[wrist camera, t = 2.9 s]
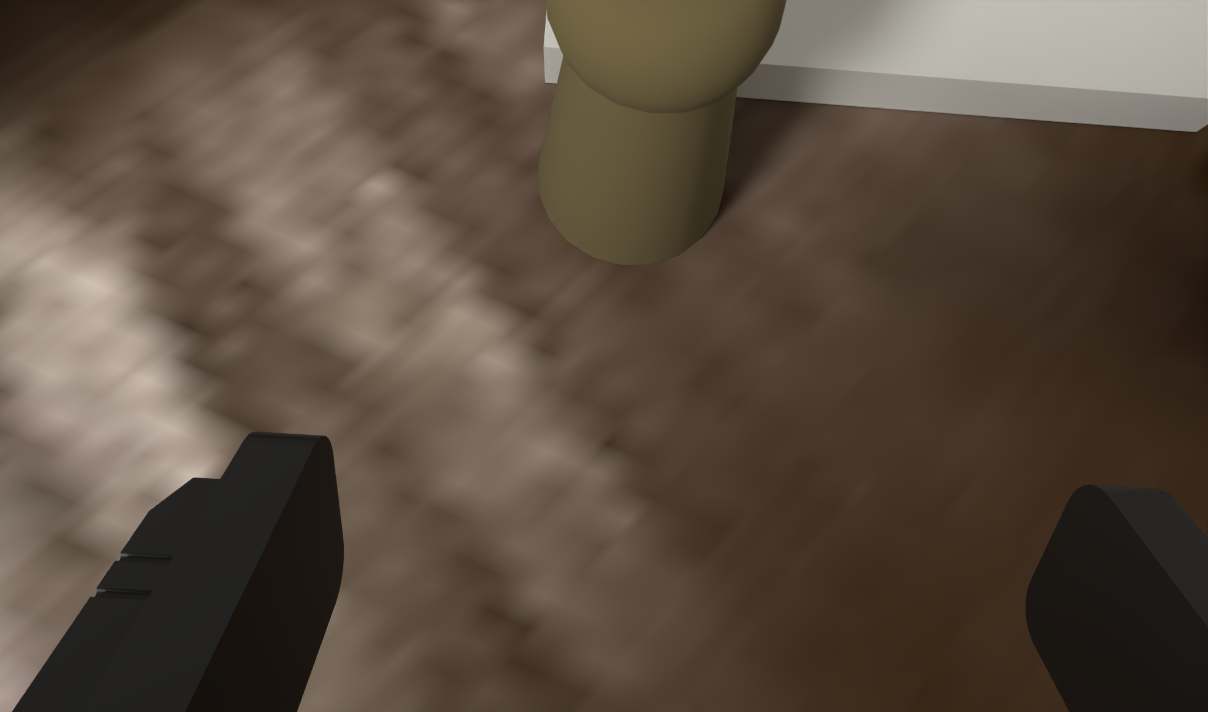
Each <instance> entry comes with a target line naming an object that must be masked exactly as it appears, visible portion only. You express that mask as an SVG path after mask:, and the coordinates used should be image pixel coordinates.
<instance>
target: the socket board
mask: <svg viewBox="0 0 1208 712" xmlns="http://www.w3.org/2000/svg"><path fill="white" fill-rule="evenodd" d="M562 59H563V54H562V52H561V50H560V47H559V45H558V42H557V40H556V38H555V35H554V33H553V30H552V28H551V26H550V23H549V21H548V18H547V14H546V26H545V39H544V66H545V83H557V80H558V76H559V72H560V67H561V63H562ZM736 97H742V98H755V99H768V100H782V101H795V102H808V103H821V104H834V105H847V106H860V107H874V108H887V109H900V110H913V111H926V112H939V113H952V114H966V115H979V116H992V117H1005V118H1018V119H1031V120H1044V121H1058V122H1071V123H1084V124H1097V125H1110V126H1123V127H1136V128H1150V129H1163V130H1176V131H1189V132H1197V131H1198V130H1200V129H1201V128H1203V127H1204V126H1206V125H1207V124H1208V0H787V1H786V5H785V9H784V13H783V17H782V21H781V25H780V29H779V31H778V33H777V36H776V38H775V40H774V43H773V45H772V46H771V48H770V49H769V51H768V52H767V54H766V55H765V57H764V58H763V60H762V61H761V62H760V64H759V65H758V67H757V68H756V70H755V71H754V73H753V74H752V75H751V76H750V77H749V78H747V79H746V80H745V81H744V82H743V83H742V84H741V85H740V86H738V87H737V95H736Z"/></svg>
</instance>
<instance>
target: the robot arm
mask: <svg viewBox="0 0 1208 712" xmlns="http://www.w3.org/2000/svg"><path fill="white" fill-rule="evenodd" d="M343 562H344V541H343V532H342V524H341V515H340V507H339V499H338V490H337V482H336V473H335V465H334V457H333V450H332V446H331V443H330V440H329V439H328V438H327V437H326V436H320V435H303V434H287V433H271V432H252V433H250V434H249V435H248V436H247V437H246V438H245V440H244V441H243V443H242V444H241V446H240V447H239V449H238V451H237V452H236V454H235V456H234V457H233V459H232V461H231V462H230V464H229V466H228V467H227V469H226V471H225V472H224V474H223V476H222V477H221V479H209V478H192V479H191V480H190V481H188V482H187V483H186V484H184V485H183V486H182V487H180V488H179V489H178V490H176V491H175V492H174V493H172V494H171V495H170V496H168V497H167V498H166V499H164V500H163V501H162V502H160V503H159V504H158V505H156V506H155V507H154V508H152V509H151V510H150V511H149V512H148V513H147V515H146V516H145V518H144V519H143V521H142V522H141V524H140V525H139V527H138V528H137V529H136V531H135V532H134V534H133V535H132V537H131V538H130V540H129V541H128V543H127V544H126V546H125V547H124V548H123V550H122V551H121V558H120V560H119V561H115V562H114V563H113V565H112V566H111V568H110V569H109V570H108V572H107V573H106V575H105V576H104V578H103V579H102V581H101V582H100V584H99V585H98V587H97V593H96V596H95V597H90V598H89V600H88V601H87V603H86V604H85V606H84V607H83V609H82V610H81V611H80V613H79V614H78V616H77V617H76V619H75V620H74V622H73V623H72V625H71V626H70V628H69V629H68V630H67V632H66V633H65V635H64V636H63V638H62V639H61V641H60V642H59V644H58V645H57V647H56V648H55V650H54V651H53V652H52V654H51V655H50V657H49V658H48V660H47V661H46V663H45V664H44V666H43V667H42V669H41V670H40V671H39V673H38V674H37V676H36V677H35V679H34V680H33V682H32V683H31V685H30V686H29V688H28V689H27V691H26V692H25V693H24V695H23V696H22V698H21V699H20V701H19V702H18V704H17V705H16V707H15V708H14V710H13V711H12V712H297V710H298V707H299V705H300V702H301V699H302V696H303V693H304V691H305V688H306V685H307V682H308V679H309V677H310V674H311V671H312V668H313V665H314V663H315V660H316V657H317V654H318V651H319V649H320V646H321V643H322V640H323V637H324V635H325V632H326V629H327V626H328V623H329V621H330V618H331V615H332V612H333V609H334V607H335V604H336V601H337V597H338V594H339V589H340V585H341V579H342V572H343ZM1026 619H1027V625H1028V629H1029V633H1030V636H1031V639H1032V641H1033V643H1034V645H1035V647H1036V649H1037V651H1038V653H1039V655H1040V657H1041V659H1042V661H1043V662H1044V664H1045V666H1046V668H1047V670H1048V672H1049V674H1050V676H1051V678H1052V680H1053V681H1054V683H1055V685H1056V687H1057V689H1058V691H1059V693H1060V695H1061V697H1062V699H1063V701H1064V702H1065V704H1066V706H1067V708H1068V710H1069V712H1208V538H1207V537H1206V535H1205V534H1204V533H1203V532H1202V531H1201V530H1200V528H1199V527H1198V526H1197V525H1196V524H1195V523H1194V521H1193V520H1192V519H1191V518H1190V517H1189V516H1188V514H1187V513H1186V512H1185V511H1184V510H1183V508H1182V507H1181V506H1180V505H1179V504H1178V503H1177V501H1176V500H1175V499H1174V498H1173V497H1172V496H1171V495H1169V494H1168V493H1166V492H1164V491H1162V490H1159V489H1152V488H1135V487H1119V486H1102V485H1084V486H1082V487H1079V488H1078V489H1077V490H1076V491H1075V492H1074V493H1073V494H1072V495H1071V497H1070V499H1069V500H1068V502H1067V505H1066V507H1065V509H1064V511H1063V513H1062V515H1061V517H1060V519H1059V522H1058V524H1057V526H1056V528H1055V530H1054V532H1053V534H1052V536H1051V539H1050V541H1049V543H1048V545H1047V547H1046V549H1045V551H1044V553H1043V556H1042V558H1041V560H1040V562H1039V564H1038V566H1037V568H1036V570H1035V573H1034V575H1033V577H1032V579H1031V581H1030V584H1029V586H1028V590H1027V595H1026Z"/></svg>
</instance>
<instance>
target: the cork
mask: <svg viewBox="0 0 1208 712" xmlns="http://www.w3.org/2000/svg"><path fill="white" fill-rule="evenodd" d="M786 1H787V0H546V4H547V18H548V21H549V23H550V26H551V28H552V30H553V33H554V35H555V38H556V40H557V42H558V45H559V47H560V50H561V52H562V54H563V59H562V63H561V67H560V72H559V76H558V80H557V85H556V89H555V93H554V98H553V102H552V106H551V111H550V115H549V119H548V124H547V128H546V132H545V137H544V141H543V145H542V150H541V154H540V158H539V163H538V185H539V195H540V197H541V200H542V202H543V205H544V208H545V210H546V213H547V215H548V218H549V220H550V221H551V222H552V223H553V225H554V226H555V227H556V228H557V229H558V231H559V232H560V233H561V234H562V235H563V236H564V238H565V239H566V240H567V241H568V242H569V243H571V244H572V245H574V246H576V247H577V248H579V249H580V250H582V251H584V252H585V253H587V254H588V255H590V256H591V257H593V258H597V259H601V260H604V261H608V262H612V263H616V264H619V265H643V264H654V263H657V262H660V261H662V260H665V259H668V258H671V257H674V256H677V255H680V254H681V253H682V252H684V251H685V250H686V249H687V248H689V247H690V246H691V245H693V244H694V243H695V242H697V241H698V240H699V239H701V238H702V237H703V235H704V234H705V232H706V231H707V229H708V228H709V226H710V225H711V223H712V222H713V220H714V219H715V217H716V216H717V214H718V211H719V207H720V203H721V199H722V195H723V191H724V186H725V178H726V171H727V163H728V156H729V148H730V140H731V133H732V125H733V118H734V110H735V103H736V95H737V87H738V86H740V85H741V84H742V83H743V82H744V81H745V80H746V79H747V78H749V77H750V76H751V75H752V74H753V73H754V71H755V70H756V68H757V67H758V65H759V64H760V62H761V61H762V60H763V58H764V57H765V55H766V54H767V52H768V51H769V49H770V48H771V46H772V45H773V43H774V40H775V38H776V36H777V33H778V31H779V29H780V25H781V21H782V17H783V13H784V9H785V5H786Z"/></svg>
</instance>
